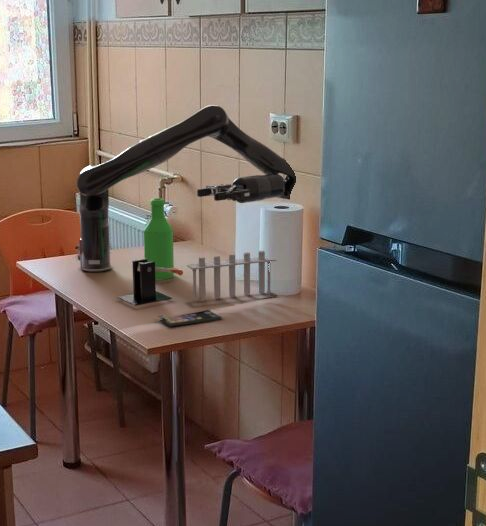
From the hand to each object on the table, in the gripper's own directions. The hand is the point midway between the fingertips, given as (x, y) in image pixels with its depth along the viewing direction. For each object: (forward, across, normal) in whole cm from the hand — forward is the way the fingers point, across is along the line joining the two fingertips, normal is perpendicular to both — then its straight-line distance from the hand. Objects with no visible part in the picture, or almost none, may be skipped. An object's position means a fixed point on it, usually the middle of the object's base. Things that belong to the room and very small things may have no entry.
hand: (206, 195), depth 264 cm
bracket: (+21, 0, +28) cm, 35 cm away
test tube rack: (+1, +13, +28) cm, 31 cm away
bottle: (+5, -18, +28) cm, 34 cm away
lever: (+17, 0, +20) cm, 26 cm away
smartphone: (+21, +21, +28) cm, 41 cm away
